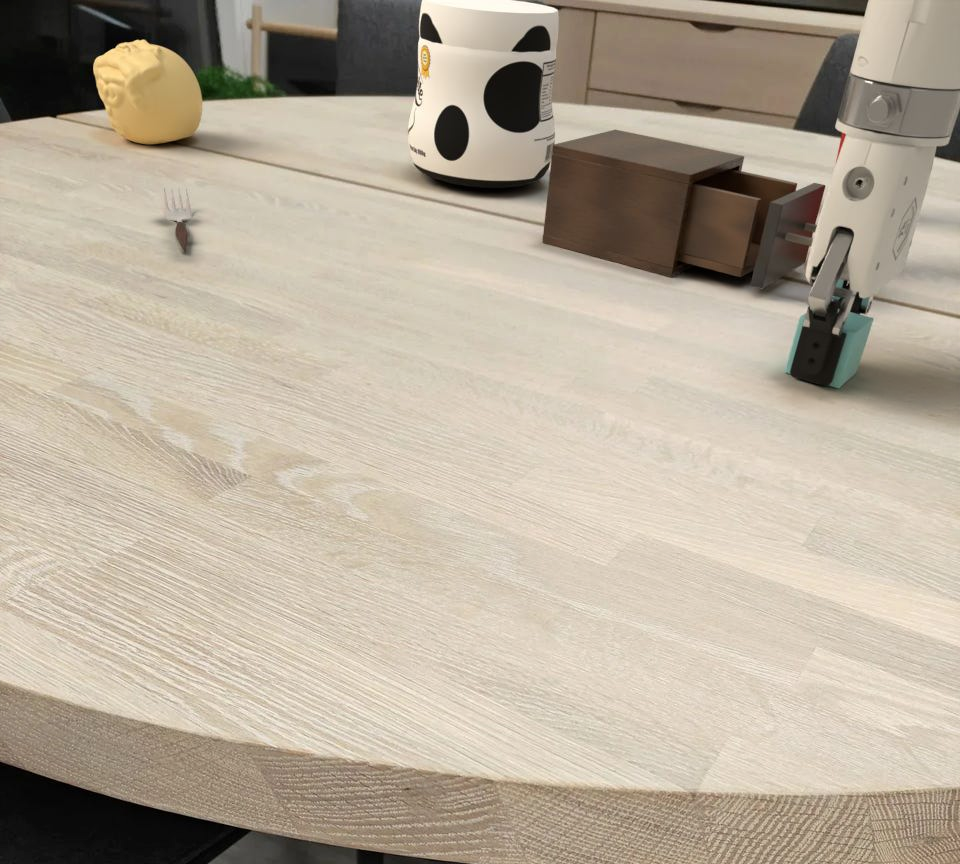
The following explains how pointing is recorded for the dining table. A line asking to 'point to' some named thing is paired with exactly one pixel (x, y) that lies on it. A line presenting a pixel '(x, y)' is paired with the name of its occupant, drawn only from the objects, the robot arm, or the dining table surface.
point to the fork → (179, 218)
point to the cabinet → (626, 196)
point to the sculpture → (148, 92)
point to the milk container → (484, 92)
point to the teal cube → (851, 350)
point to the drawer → (749, 225)
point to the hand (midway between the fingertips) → (822, 368)
